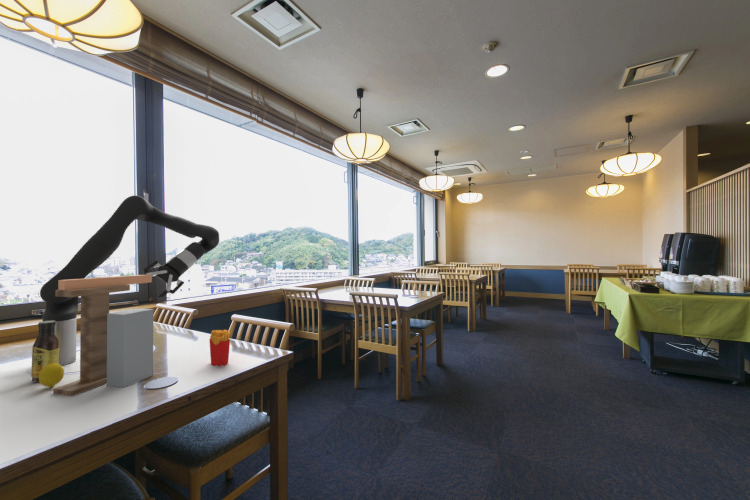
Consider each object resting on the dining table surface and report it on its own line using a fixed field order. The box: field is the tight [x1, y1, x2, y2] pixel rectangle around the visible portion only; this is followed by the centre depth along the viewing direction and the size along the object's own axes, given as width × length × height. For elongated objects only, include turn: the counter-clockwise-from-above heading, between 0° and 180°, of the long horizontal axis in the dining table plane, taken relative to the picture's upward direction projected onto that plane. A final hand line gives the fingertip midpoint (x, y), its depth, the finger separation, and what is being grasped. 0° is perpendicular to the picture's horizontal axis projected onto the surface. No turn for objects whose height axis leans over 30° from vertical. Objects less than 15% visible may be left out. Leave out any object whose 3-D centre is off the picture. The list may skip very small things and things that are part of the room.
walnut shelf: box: [52, 284, 131, 397], centre depth 99 cm, size 8×17×32 cm, turn 167°
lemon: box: [38, 362, 65, 388], centre depth 96 cm, size 6×6×8 cm
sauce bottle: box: [30, 320, 59, 383], centre depth 102 cm, size 7×6×20 cm
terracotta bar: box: [58, 274, 153, 290], centre depth 104 cm, size 3×26×3 cm, turn 161°
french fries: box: [209, 329, 231, 367], centre depth 117 cm, size 9×4×13 cm, turn 68°
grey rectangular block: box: [106, 307, 154, 388], centre depth 102 cm, size 7×10×24 cm
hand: (148, 291), depth 117 cm, fingers open, 8 cm apart
